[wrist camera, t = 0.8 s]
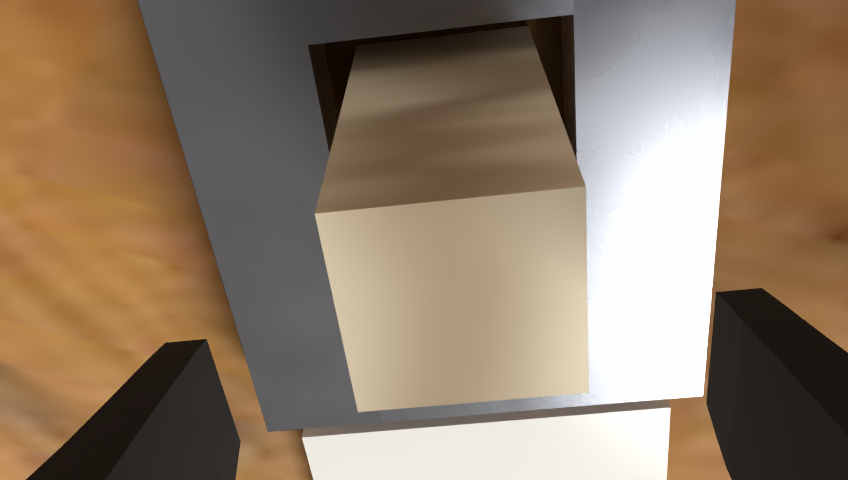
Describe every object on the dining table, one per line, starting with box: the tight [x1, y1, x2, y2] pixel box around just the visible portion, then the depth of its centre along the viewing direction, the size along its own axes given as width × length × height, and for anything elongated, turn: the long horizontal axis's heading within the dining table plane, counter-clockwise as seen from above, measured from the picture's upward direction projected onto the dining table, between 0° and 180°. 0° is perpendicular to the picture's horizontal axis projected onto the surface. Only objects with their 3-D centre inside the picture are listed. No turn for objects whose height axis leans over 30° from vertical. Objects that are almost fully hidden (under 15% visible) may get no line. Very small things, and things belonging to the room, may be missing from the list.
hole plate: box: [138, 0, 736, 432], centre depth 19 cm, size 12×16×2 cm
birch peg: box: [315, 26, 589, 412], centre depth 16 cm, size 4×4×8 cm
